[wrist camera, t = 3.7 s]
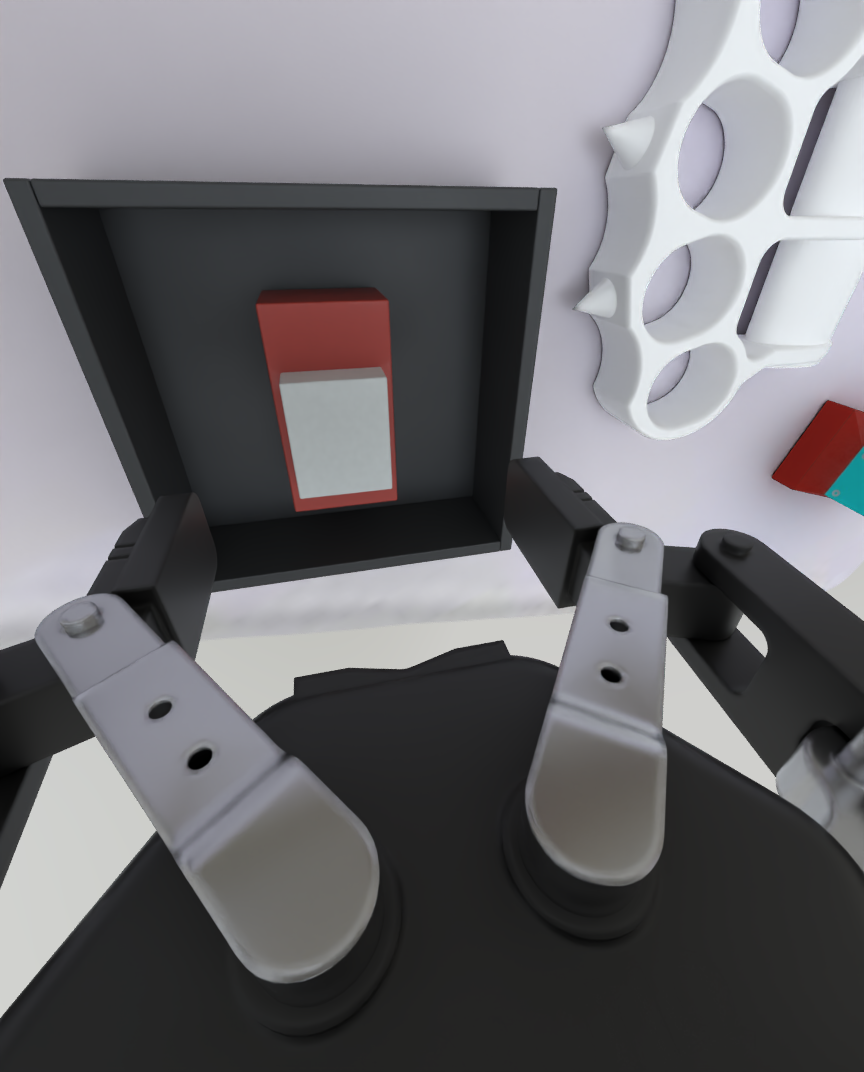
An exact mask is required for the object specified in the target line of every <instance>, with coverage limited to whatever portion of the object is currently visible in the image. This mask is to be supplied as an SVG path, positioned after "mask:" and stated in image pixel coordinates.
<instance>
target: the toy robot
mask: <svg viewBox="0 0 864 1072" xmlns="http://www.w3.org/2000/svg"><path fill="white" fill-rule="evenodd" d="M772 478H773V479H774V480H776V481H778V482H780V483H782V484H783V485H785V486H787V487H789V488H790V489H792V490H797V491H801V492H806V493H810V494H815V495H820V496H824V497H829V498H831V499H833V500H835V501H837V502H839V503H840V504H842V505H844V506H846V507H848V508H850V509H852V510H853V511H855V512H857V513H859V514H861V515H863V516H864V412H862V411H859V410H856V409H853V408H850V407H847V406H844V405H841V404H838V403H835V402H832V401H829V400H828V401H827V402H826V403H825V405H824V406H823V407H822V409H821V410H820V411H819V413H818V414H817V416H816V417H815V418H814V420H813V421H812V422H811V424H810V425H809V427H808V428H807V429H806V431H805V432H804V433H803V435H802V436H801V437H800V439H799V440H798V442H797V443H796V444H795V446H794V447H793V448H792V450H791V451H790V453H789V454H788V455H787V457H786V458H785V459H784V461H783V462H782V464H781V465H780V466H779V468H778V469H777V470H776V472H775V473H774V474H773V476H772Z"/></svg>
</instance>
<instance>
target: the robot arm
mask: <svg viewBox="0 0 864 1072" xmlns="http://www.w3.org/2000/svg"><path fill="white" fill-rule="evenodd" d="M504 520H505V525H506V528H507V530H508V532H509V533H510V535H511V536H512V538H513V540H514V541H515V543H516V544H517V546H518V547H519V549H520V550H521V552H522V553H523V555H524V557H525V558H526V560H527V561H528V563H529V564H530V566H531V567H532V569H533V570H534V572H535V574H536V575H537V577H538V578H539V580H540V581H541V583H542V584H543V586H544V588H545V589H546V591H547V592H548V594H549V595H550V597H551V598H552V600H553V601H554V603H555V605H556V606H557V608H564V607H570V606H576V610H575V614H574V617H573V621H572V624H571V628H570V631H569V635H568V639H567V642H566V646H565V650H564V653H563V656H562V660H561V664H560V667H557V666H555V665H552V664H550V663H547V662H544V661H541V660H538V659H534V658H529V657H523V656H515V655H514V656H513V655H510V654H509V652H508V650H507V647H506V645H505V643H504V641H503V640H501V641H495V642H490V643H484V644H479V645H473V646H468V647H463V648H457V649H454V650H451V651H449V652H446V653H444V654H441V655H439V656H437V657H434V658H432V659H430V660H427V661H425V662H422V663H420V664H418V665H415V666H413V667H410V668H407V669H368V668H346V669H340V670H335V671H329V672H324V673H318V674H312V675H307V676H302V677H296V678H294V695H293V696H291V697H288V698H286V699H284V700H282V701H280V702H278V703H277V704H275V705H273V706H271V707H270V708H268V709H267V710H265V711H264V712H262V713H261V714H259V715H258V716H257V717H256V718H254V719H253V720H252V719H251V718H250V717H249V716H248V715H247V714H246V713H245V712H244V711H243V710H242V709H241V708H240V707H239V706H238V705H237V704H236V703H235V702H234V701H233V700H232V699H231V698H230V697H229V696H228V695H227V694H226V693H225V692H224V690H222V688H221V687H219V685H218V684H217V683H215V681H214V680H213V679H212V678H211V677H210V676H209V675H208V674H207V673H206V672H205V671H204V670H203V669H202V668H201V667H200V666H199V665H198V664H197V663H196V662H195V658H196V653H197V649H198V645H199V641H200V637H201V633H202V629H203V624H204V620H205V616H206V612H207V608H208V604H209V600H210V595H211V591H212V587H213V583H214V579H215V575H216V570H217V553H216V548H215V544H214V541H213V538H212V535H211V532H210V529H209V526H208V523H207V520H206V517H205V514H204V511H203V508H202V505H201V502H200V500H199V498H198V496H197V494H196V493H194V492H192V493H182V494H173V495H163V496H160V497H159V498H158V500H157V502H156V504H155V506H154V508H153V510H152V512H151V514H150V515H149V517H148V518H140V519H138V520H137V521H135V522H134V523H133V524H132V525H130V526H129V527H128V528H127V529H125V530H124V531H123V532H122V534H121V535H120V537H119V539H118V541H117V542H116V544H115V549H113V550H112V551H111V553H110V555H109V557H108V561H106V562H105V564H104V565H103V567H102V569H101V571H100V573H99V574H98V576H97V578H96V580H95V581H94V583H93V585H92V587H91V588H90V590H89V592H88V594H87V596H85V597H81V598H78V599H75V600H73V601H71V602H68V603H66V604H64V605H62V606H61V607H59V608H57V609H56V610H54V611H53V612H52V613H50V614H49V615H48V616H47V617H46V618H44V619H43V621H42V622H41V623H40V624H39V626H38V627H37V629H36V632H35V638H34V639H32V640H29V641H26V642H23V643H20V644H17V645H14V646H11V647H9V648H6V649H3V650H0V888H1V886H2V883H3V881H4V878H5V875H6V873H7V870H8V868H9V865H10V863H11V860H12V857H13V855H14V853H15V850H16V847H17V845H18V842H19V840H20V837H21V835H22V832H23V829H24V827H25V825H26V822H27V819H28V817H29V814H30V812H31V809H32V806H33V804H34V802H35V799H36V797H37V794H38V791H39V788H40V786H41V784H42V781H43V779H44V776H45V774H46V771H47V769H48V766H49V763H50V761H51V758H52V756H53V754H56V753H58V752H60V751H63V750H65V749H67V748H70V747H72V746H74V745H77V744H79V743H81V742H84V741H86V740H88V739H90V738H93V737H95V736H96V738H97V739H98V741H99V742H100V744H101V745H102V747H103V748H104V750H105V752H106V753H107V755H108V756H109V758H110V759H111V761H112V762H113V764H114V765H115V767H116V768H117V770H118V771H119V773H120V775H121V776H122V778H123V779H124V781H125V782H126V784H127V785H128V787H129V789H130V790H131V792H132V793H133V795H134V796H135V798H136V799H137V801H138V802H139V804H140V805H141V807H142V809H143V810H144V811H145V813H146V815H147V816H148V818H149V819H150V821H151V822H152V824H153V825H154V827H155V828H156V830H157V831H156V832H155V833H154V834H153V835H152V836H151V838H150V839H149V840H148V841H147V842H146V844H145V845H144V846H143V847H142V848H141V850H140V851H139V852H138V853H137V855H136V856H135V857H134V858H133V859H132V860H131V862H130V863H129V864H128V865H127V867H126V868H125V869H124V870H123V871H122V873H121V874H120V875H119V876H118V877H117V879H116V880H115V881H114V882H113V883H112V885H111V886H110V887H109V888H108V889H107V891H106V892H105V893H104V894H103V895H102V897H101V898H100V899H99V900H98V901H97V903H96V904H95V905H94V906H93V908H92V909H91V910H90V911H89V912H88V913H87V915H86V916H85V917H84V918H83V919H82V921H81V922H80V923H79V924H78V925H77V927H76V928H75V929H74V931H72V933H71V934H70V935H69V937H68V938H67V939H66V940H65V941H64V942H63V944H62V945H61V946H60V947H59V948H58V949H57V951H56V952H55V953H54V954H53V955H52V957H51V958H50V959H49V960H48V961H47V963H46V964H45V965H44V966H43V967H42V969H41V970H40V971H39V972H38V974H37V975H36V976H35V977H34V978H33V980H32V981H31V982H30V983H29V985H27V987H26V988H25V989H24V990H23V991H22V993H21V994H20V995H19V996H18V997H17V999H16V1000H15V1001H14V1002H13V1003H12V1005H11V1006H10V1007H9V1008H8V1010H7V1011H6V1012H5V1013H4V1014H3V1016H2V1017H1V1018H0V1072H864V621H863V620H861V619H860V618H859V617H858V616H856V615H855V614H854V613H852V612H851V611H850V610H849V609H847V608H846V607H845V606H843V605H842V604H841V603H840V602H838V601H837V600H836V599H834V598H833V597H832V596H831V595H829V594H828V593H827V592H825V591H824V590H823V589H822V588H820V587H819V586H818V585H816V584H815V583H814V582H813V581H811V580H810V579H809V578H807V577H806V576H805V575H804V574H802V573H801V572H800V571H798V570H797V569H796V568H795V567H793V566H792V565H791V564H789V563H788V562H787V561H786V560H784V559H783V558H782V557H780V556H779V555H778V554H777V553H775V552H774V551H773V550H771V549H770V548H769V547H768V546H766V545H765V544H764V543H762V542H761V541H759V540H758V539H756V538H754V537H752V536H750V535H747V534H744V533H741V532H738V531H734V530H728V529H712V530H708V531H705V532H704V533H703V534H702V535H701V537H700V539H699V542H698V544H697V546H696V548H690V547H675V546H664V543H663V541H662V540H661V538H660V537H659V536H658V535H657V534H655V533H654V532H652V531H651V530H649V529H647V528H645V527H642V526H639V525H635V524H631V523H622V522H620V523H617V522H616V521H615V520H614V519H613V518H612V517H611V516H610V515H609V514H608V513H607V512H606V511H605V510H604V509H603V508H602V507H601V506H600V505H599V504H598V503H597V502H596V501H595V500H592V497H591V496H590V495H589V494H588V493H587V492H584V489H582V488H581V487H580V486H579V485H578V484H577V483H576V482H575V481H574V480H573V479H571V478H569V477H567V476H565V475H563V474H561V473H559V472H554V471H553V470H552V469H551V468H550V467H549V466H548V465H547V464H546V463H545V462H544V461H543V460H542V459H541V458H540V457H531V458H522V459H513V460H511V461H510V463H509V466H508V472H507V482H506V492H505V502H504ZM743 613H744V614H745V615H746V616H747V617H748V618H749V619H750V620H751V621H752V622H753V623H754V624H755V625H756V626H757V627H758V628H759V629H760V630H761V631H762V633H763V634H764V636H765V638H766V641H767V645H768V653H767V655H766V657H764V656H763V655H762V654H761V653H760V652H759V651H758V650H757V649H756V648H755V647H754V646H753V645H752V644H751V643H750V642H749V641H748V639H747V638H746V637H744V635H743V634H742V633H741V632H740V631H739V630H738V629H737V628H736V626H737V625H738V623H739V621H740V619H741V617H742V615H743ZM667 637H668V639H669V640H670V641H671V643H672V644H673V645H674V646H675V648H676V649H677V650H678V652H679V653H680V654H681V656H682V657H683V658H684V659H685V661H686V662H687V663H688V664H689V666H690V667H691V668H692V670H693V671H694V672H695V674H696V675H697V676H698V678H699V679H700V680H701V681H702V682H703V684H704V685H705V686H706V688H707V689H708V690H709V692H710V693H711V694H712V696H713V697H714V698H715V699H716V700H717V702H718V703H719V704H720V706H721V707H722V708H723V710H724V711H725V712H726V714H727V715H728V716H729V718H730V719H731V720H732V721H733V723H734V724H735V725H736V727H737V728H738V729H739V730H740V732H741V733H742V734H743V736H745V738H746V739H747V741H748V742H749V743H750V745H751V746H752V747H753V748H754V750H755V751H756V752H757V754H758V755H759V756H760V758H761V759H762V760H763V761H764V762H765V764H766V765H767V766H768V768H769V769H770V770H771V772H772V773H773V774H774V775H775V777H776V787H777V791H778V794H779V795H777V794H775V793H774V792H772V791H770V790H768V789H767V788H765V787H764V786H762V785H760V784H758V783H757V782H755V781H753V780H751V779H750V778H748V777H746V776H745V775H743V774H741V773H740V772H738V771H736V770H735V769H733V768H731V767H729V766H728V765H726V764H724V763H723V762H721V761H719V760H717V759H716V758H714V757H712V756H711V755H709V754H707V753H705V752H704V751H702V750H700V749H699V748H697V747H695V746H693V745H692V744H690V743H688V742H686V741H685V740H683V739H682V738H680V737H678V736H676V735H675V734H673V733H671V732H670V731H668V730H666V729H665V728H663V727H662V719H663V698H664V679H665V657H666V638H667Z"/></svg>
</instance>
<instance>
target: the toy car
mask: <svg viewBox="0 0 864 1072" xmlns="http://www.w3.org/2000/svg"><path fill="white" fill-rule="evenodd" d="M255 307H256V312H257V317H258V322H259V327H260V332H261V338H262V343H263V348H264V353H265V358H266V363H267V369H268V374H269V379H270V384H271V389H272V394H273V399H274V405H275V410H276V415H277V420H278V425H279V430H280V436H281V441H282V446H283V451H284V456H285V461H286V467H287V472H288V477H289V482H290V487H291V492H292V498H293V503H294V508H295V511H296V512H300V511H309V510H318V509H326V508H335V507H343V506H352V505H361V504H369V503H378V502H387V501H395V500H397V476H396V453H395V430H394V406H393V383H392V360H391V337H390V314H389V301H388V299H387V298H386V297H385V296H384V295H383V294H382V293H381V292H380V291H379V290H378V289H376V288H375V287H372V288H333V289H294V290H263V291H261V293H260V296H259V298H258V300H257V302H256V306H255Z"/></svg>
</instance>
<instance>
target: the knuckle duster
mask: <svg viewBox="0 0 864 1072" xmlns="http://www.w3.org/2000/svg"><path fill="white" fill-rule="evenodd" d="M760 4H761V0H676V3H675V14H674V21H673V27H672V32H671V37H670V41H669V44H668V48H667V51H666V54H665V57H664V60H663V63H662V65H661V68H660V70H659V72H658V74H657V76H656V78H655V80H654V82H653V84H652V86H651V88H650V89H649V91H648V92H647V94H646V95H645V97H644V98H643V100H642V101H641V102H640V104H639V105H638V106H637V107H636V108H635V109H634V110H633V111H632V112H631V114H629V116H628V117H627V119H626V122H624V123H620V124H616V125H613V126H609V127H605V128H603V130H604V132H605V134H606V136H607V138H608V140H609V142H610V144H611V146H612V147H613V149H614V151H615V152H614V154H613V157H612V160H611V162H610V165H609V168H608V170H607V173H606V176H605V181H606V185H607V192H608V218H607V225H606V230H605V234H604V237H603V241H602V243H601V246H600V249H599V251H598V253H597V255H596V257H595V259H594V261H593V263H592V264H591V266H590V268H589V293H588V294H587V295H586V296H585V297H584V298H583V299H582V300H581V301H580V302H579V303H578V304H577V305H576V306H575V307H574V308H573V310H577V311H581V312H586V313H590V315H591V316H592V318H593V319H594V320H595V322H596V324H597V326H598V328H599V330H600V334H601V338H602V346H603V353H602V362H601V366H600V370H599V373H598V376H597V378H596V381H595V383H594V385H593V387H594V392H595V395H596V397H597V399H598V401H599V403H600V405H601V406H602V407H603V408H604V409H605V410H606V411H607V412H608V413H609V414H611V415H612V416H614V417H615V418H617V419H618V420H620V421H621V422H623V423H625V424H626V425H628V426H629V427H631V428H632V429H634V430H635V431H637V432H638V433H640V434H642V435H643V436H645V437H648V438H651V439H655V440H673V439H677V438H681V437H684V436H687V435H689V434H691V433H693V432H695V431H697V430H699V429H701V428H702V427H704V426H705V425H706V424H708V423H709V422H710V421H712V420H713V419H714V418H715V417H716V416H717V415H718V414H719V413H720V412H721V411H722V410H723V409H724V408H725V407H726V406H727V405H728V403H729V402H730V401H731V399H732V398H733V397H734V395H735V394H736V392H737V391H738V389H739V387H740V386H741V385H742V383H744V382H745V381H746V380H748V379H749V378H750V377H752V376H753V375H755V374H756V373H758V372H759V371H760V370H762V369H763V368H765V367H768V368H803V367H810V366H814V365H817V364H818V363H819V362H820V360H821V359H822V358H823V357H824V356H825V355H826V354H827V353H828V351H829V349H830V347H831V345H832V341H830V340H831V337H832V335H833V333H834V331H835V329H836V327H837V325H838V323H839V321H840V319H841V317H842V315H843V313H844V310H845V308H846V306H847V304H848V302H849V300H850V298H851V296H852V294H853V292H854V290H855V288H856V285H857V283H858V281H859V279H860V277H861V275H862V273H863V271H864V0H800V6H799V13H798V18H797V23H796V27H795V30H794V33H793V36H792V39H791V41H790V44H789V46H788V48H787V50H786V52H785V54H784V56H783V58H782V60H781V61H780V63H779V64H778V63H776V62H775V61H774V60H773V59H772V58H771V57H770V56H769V54H768V52H767V51H766V48H765V46H764V43H763V40H762V35H761V29H760ZM829 88H837V90H836V92H835V95H834V98H833V100H832V103H831V106H830V108H829V111H828V114H827V116H826V119H825V122H824V124H823V127H822V130H821V132H820V135H819V138H818V140H817V143H816V146H815V149H814V151H813V154H812V157H811V159H810V162H809V165H808V167H807V170H806V173H805V175H804V178H803V181H802V184H801V186H800V189H799V192H798V194H797V197H796V200H795V202H794V205H793V208H792V210H791V213H790V216H788V215H787V214H786V213H785V211H784V207H783V199H784V194H785V190H786V188H787V185H788V182H789V179H790V176H791V174H792V171H793V168H794V165H795V163H796V160H797V157H798V154H799V151H800V149H801V146H802V143H803V140H804V137H805V135H806V132H807V129H808V126H809V124H810V121H811V118H812V115H813V112H814V110H815V107H816V105H817V103H818V101H819V100H820V98H821V97H822V95H823V94H824V93H825V92H826V91H827V90H828V89H829ZM702 103H703V104H705V105H707V106H708V107H710V108H711V109H713V110H714V111H715V112H716V113H717V115H718V116H719V118H720V120H721V123H722V125H723V129H724V135H725V150H724V157H723V162H722V166H721V169H720V172H719V175H718V177H717V180H716V182H715V184H714V186H713V187H712V189H711V191H710V192H709V194H708V195H707V197H706V198H705V199H704V200H703V202H702V203H701V204H700V205H699V206H698V207H697V208H696V209H692V208H691V207H690V206H689V205H688V204H687V203H686V202H685V200H684V198H683V196H682V194H681V191H680V188H679V183H678V159H679V153H680V148H681V144H682V141H683V138H684V135H685V132H686V130H687V127H688V125H689V123H690V121H691V119H692V117H693V116H694V114H695V112H696V111H697V109H698V108H699V106H700V105H701V104H702ZM777 241H780V243H779V245H778V248H777V251H776V254H775V256H774V259H773V262H772V264H771V267H770V270H769V272H768V275H767V278H766V281H765V283H764V286H763V289H762V291H761V294H760V297H759V300H758V302H757V305H756V308H755V310H754V313H753V316H752V319H751V321H750V324H749V327H748V329H747V332H746V334H741V335H737V332H736V330H737V324H738V321H739V318H740V316H741V313H742V310H743V307H744V304H745V302H746V299H747V296H748V293H749V291H750V288H751V285H752V282H753V279H754V277H755V274H756V271H757V268H758V266H759V263H760V261H761V259H762V257H763V255H764V254H765V252H766V251H767V250H768V249H769V248H770V247H771V246H772V245H773V244H774V243H776V242H777ZM684 245H688V247H689V250H690V254H691V272H690V277H689V280H688V283H687V286H686V288H685V290H684V292H683V294H682V296H681V298H680V299H679V301H678V302H677V303H676V305H675V306H674V307H673V308H672V309H671V310H670V311H669V312H668V313H667V314H665V315H664V316H663V317H661V318H660V319H658V320H656V321H653V322H650V323H648V324H645V325H644V322H643V316H642V307H643V300H644V295H645V292H646V289H647V286H648V284H649V282H650V280H651V278H652V276H653V274H654V273H655V271H656V270H657V268H658V267H659V266H660V264H661V263H662V262H663V261H664V260H665V259H666V258H667V257H668V256H669V255H670V254H671V253H672V252H674V251H675V250H677V249H678V248H680V247H682V246H684ZM689 350H690V359H689V364H688V367H687V369H686V372H685V374H684V376H683V377H682V379H681V381H680V382H679V383H678V385H677V386H676V387H675V388H674V389H673V390H672V391H671V392H670V393H668V394H667V395H666V396H664V397H663V398H661V399H659V400H657V401H654V402H651V403H649V404H647V400H648V395H649V392H650V389H651V386H652V384H653V382H654V381H655V379H656V377H657V376H658V374H659V373H660V372H661V370H662V369H663V368H664V367H665V366H666V365H667V364H668V363H669V362H670V361H671V360H673V359H674V358H675V357H677V356H678V355H680V354H682V353H684V352H687V351H689Z"/></svg>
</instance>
